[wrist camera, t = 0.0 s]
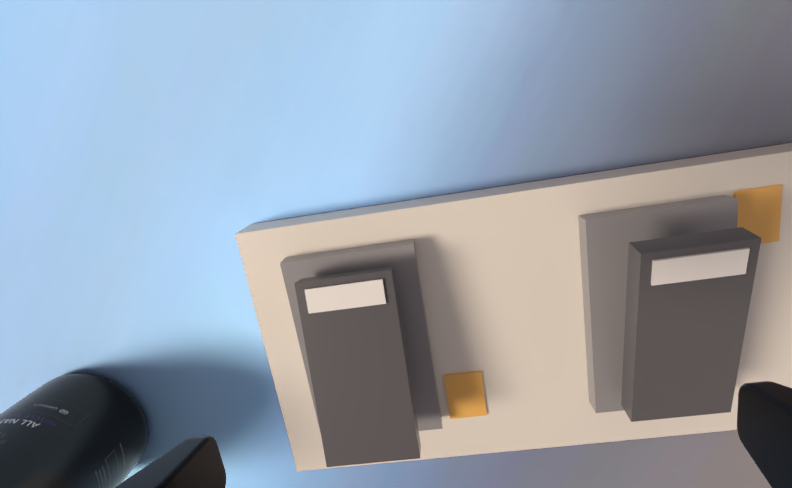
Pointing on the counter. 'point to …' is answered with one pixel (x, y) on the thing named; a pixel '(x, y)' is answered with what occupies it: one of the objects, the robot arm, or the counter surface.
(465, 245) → the switch panel
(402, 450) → the rocker
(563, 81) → the counter surface
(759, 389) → the robot arm
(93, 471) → the supplement bottle
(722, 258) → the rocker
